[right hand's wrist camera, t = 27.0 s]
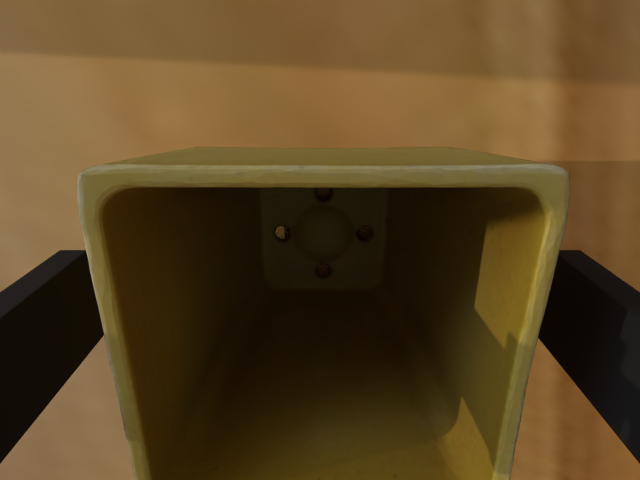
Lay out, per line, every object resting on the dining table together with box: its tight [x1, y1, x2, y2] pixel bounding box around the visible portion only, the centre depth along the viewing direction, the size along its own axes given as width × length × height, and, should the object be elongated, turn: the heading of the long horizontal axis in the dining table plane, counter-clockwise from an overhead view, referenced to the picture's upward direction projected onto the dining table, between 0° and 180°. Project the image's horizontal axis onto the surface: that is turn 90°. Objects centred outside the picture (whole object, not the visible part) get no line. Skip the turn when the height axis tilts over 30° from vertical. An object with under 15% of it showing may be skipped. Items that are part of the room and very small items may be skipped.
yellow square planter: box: [77, 147, 570, 480], centre depth 13 cm, size 9×9×9 cm
